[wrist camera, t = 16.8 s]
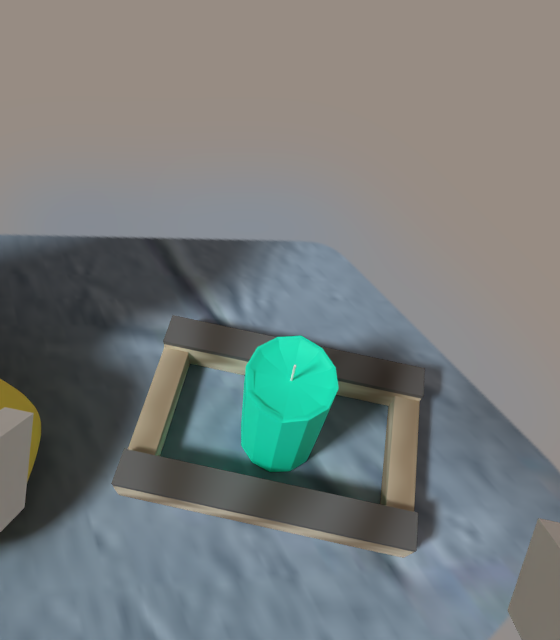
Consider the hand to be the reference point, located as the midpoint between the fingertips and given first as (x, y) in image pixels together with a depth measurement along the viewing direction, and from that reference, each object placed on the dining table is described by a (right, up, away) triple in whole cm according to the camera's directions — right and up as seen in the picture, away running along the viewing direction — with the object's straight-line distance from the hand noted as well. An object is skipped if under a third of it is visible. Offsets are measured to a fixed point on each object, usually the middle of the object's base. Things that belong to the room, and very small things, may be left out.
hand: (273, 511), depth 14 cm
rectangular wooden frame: (0, -4, +28) cm, 29 cm away
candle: (0, -4, +29) cm, 29 cm away
